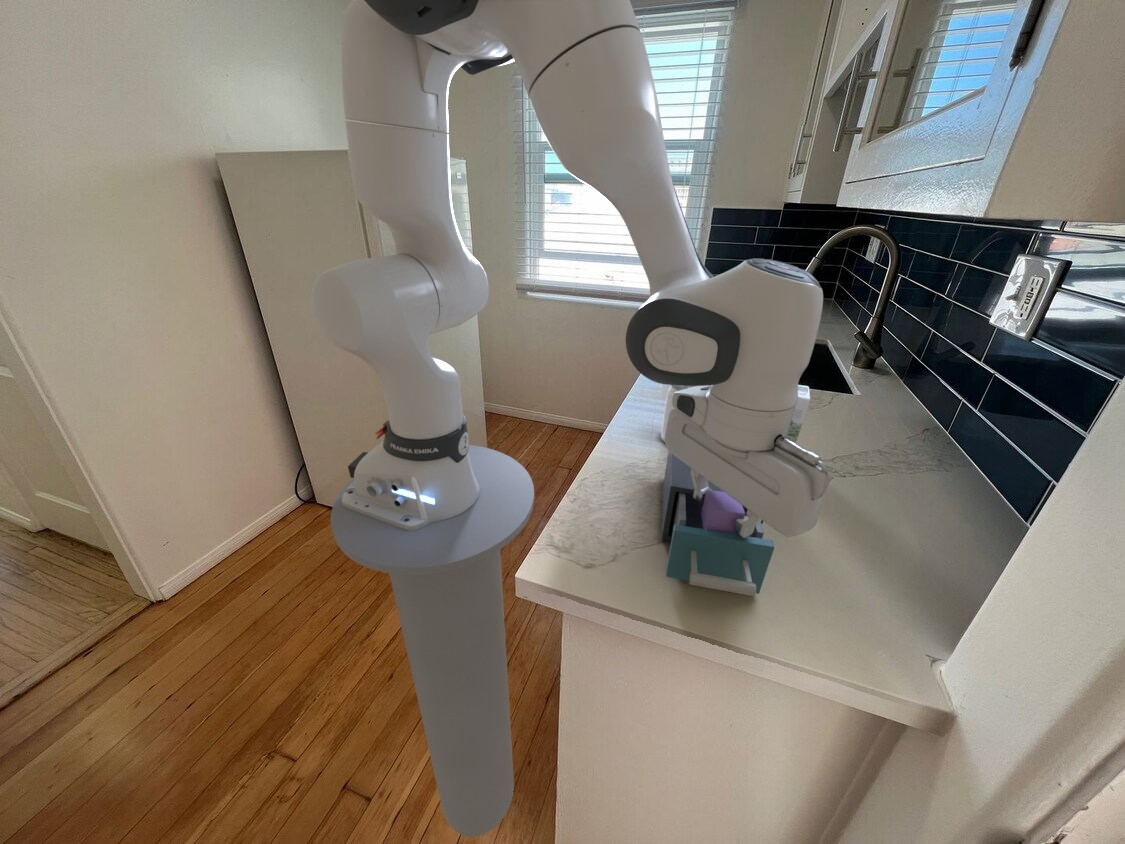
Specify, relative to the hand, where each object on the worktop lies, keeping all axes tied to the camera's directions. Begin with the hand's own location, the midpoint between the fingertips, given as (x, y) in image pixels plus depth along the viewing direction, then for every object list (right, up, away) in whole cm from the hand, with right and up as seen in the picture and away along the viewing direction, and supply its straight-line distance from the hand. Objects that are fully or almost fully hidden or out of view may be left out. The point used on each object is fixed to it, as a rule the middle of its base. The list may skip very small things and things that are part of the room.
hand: (720, 515), depth 55 cm
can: (+4, +8, +35) cm, 36 cm away
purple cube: (0, -2, +1) cm, 2 cm away
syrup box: (+21, +5, +30) cm, 37 cm away
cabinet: (+2, -3, +14) cm, 15 cm away
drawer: (0, -7, +5) cm, 8 cm away
